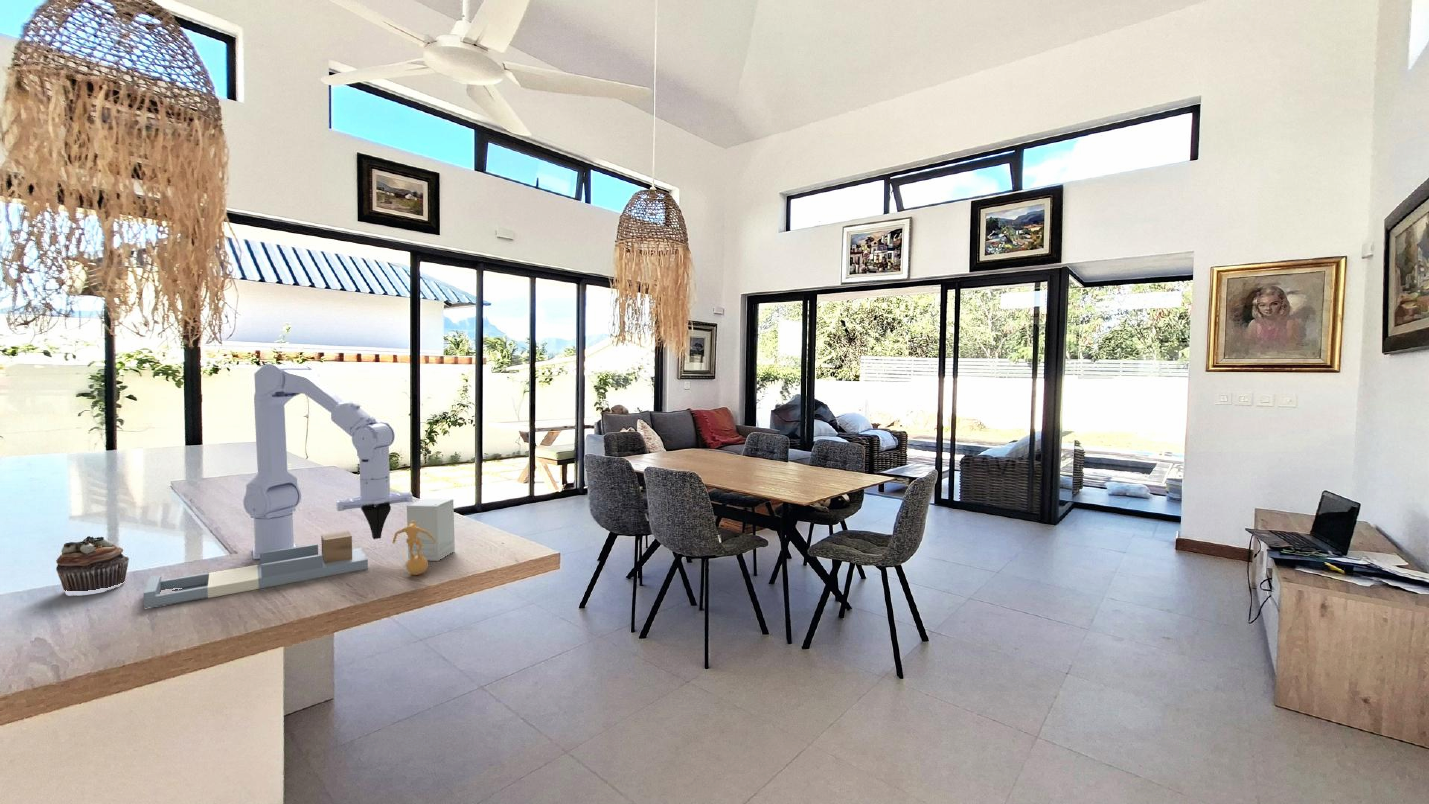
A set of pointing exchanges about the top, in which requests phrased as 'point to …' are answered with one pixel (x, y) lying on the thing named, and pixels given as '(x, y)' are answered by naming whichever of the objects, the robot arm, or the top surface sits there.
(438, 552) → the supplement box
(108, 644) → the top surface
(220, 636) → the top surface
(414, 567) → the figurine
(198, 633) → the top surface
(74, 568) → the cupcake
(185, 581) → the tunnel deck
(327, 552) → the block
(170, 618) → the top surface
